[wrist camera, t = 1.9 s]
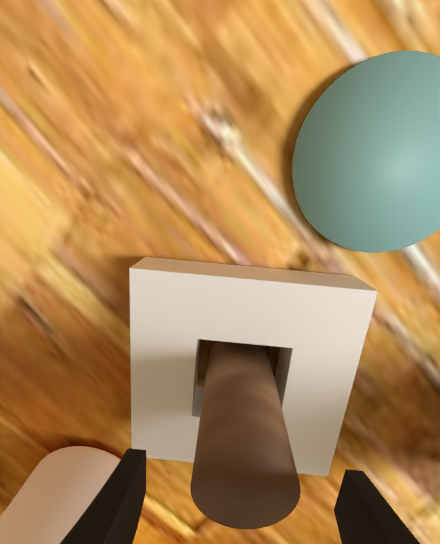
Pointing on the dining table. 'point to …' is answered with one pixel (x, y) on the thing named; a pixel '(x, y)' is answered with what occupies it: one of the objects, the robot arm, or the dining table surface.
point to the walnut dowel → (243, 442)
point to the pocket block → (250, 330)
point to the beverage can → (56, 495)
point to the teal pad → (373, 154)
